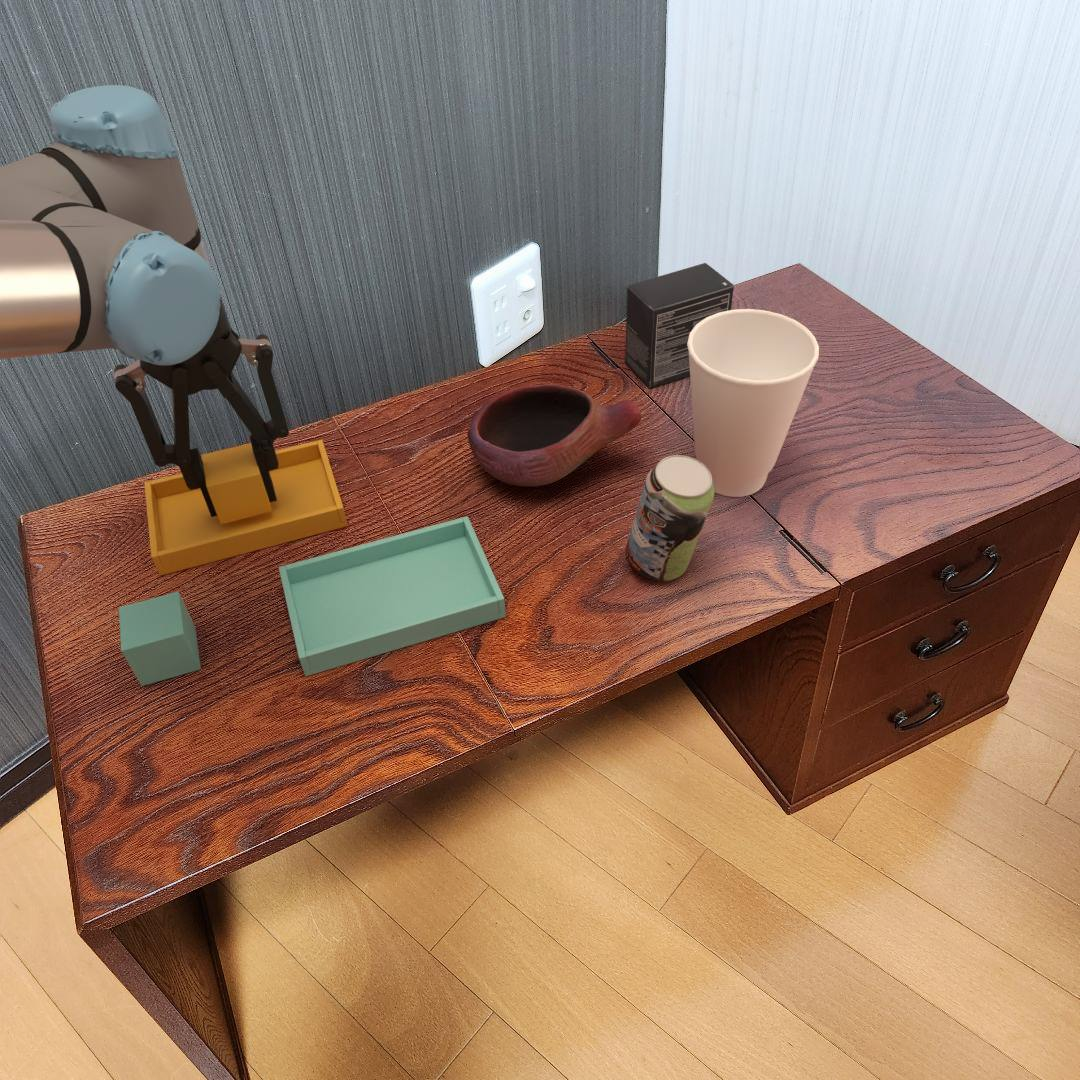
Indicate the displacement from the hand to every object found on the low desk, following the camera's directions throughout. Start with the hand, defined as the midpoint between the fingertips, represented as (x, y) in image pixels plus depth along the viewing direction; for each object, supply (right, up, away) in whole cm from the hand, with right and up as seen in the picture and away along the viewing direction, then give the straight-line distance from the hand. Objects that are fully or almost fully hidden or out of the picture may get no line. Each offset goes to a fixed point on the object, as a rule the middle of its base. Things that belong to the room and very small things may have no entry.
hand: (242, 499), depth 93 cm
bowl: (+31, +4, +6) cm, 31 cm away
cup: (+50, +3, +4) cm, 50 cm away
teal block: (-3, -14, -11) cm, 18 cm away
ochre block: (0, 0, 0) cm, 0 cm away
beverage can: (+41, -7, -5) cm, 42 cm away
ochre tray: (0, -1, +1) cm, 2 cm away
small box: (+46, +17, +17) cm, 52 cm away
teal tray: (+16, -10, -7) cm, 20 cm away
